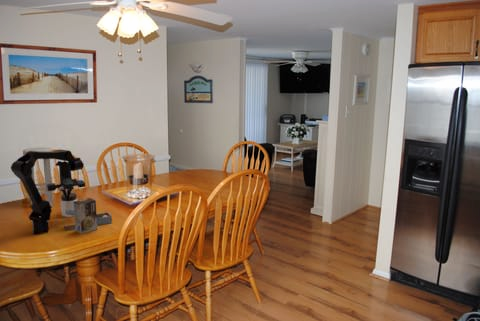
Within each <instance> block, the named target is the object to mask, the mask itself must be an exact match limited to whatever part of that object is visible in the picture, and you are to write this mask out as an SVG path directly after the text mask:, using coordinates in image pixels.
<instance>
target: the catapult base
mask: <svg viewBox="0 0 480 321" xmlns="http://www.w3.org/2000/svg"><path fill="white" fill-rule="evenodd" d="M63 227H64V229H65V230H66V231H73V230H76V228H75V223H74V224H69V225H64V226H63Z"/></svg>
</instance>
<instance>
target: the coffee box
mask: <svg viewBox="0 0 480 321" xmlns="http://www.w3.org/2000/svg"><path fill="white" fill-rule="evenodd" d="M77 200H78V199H77ZM96 203H97V201H96V199H93V198H91V197H88V198H82V199H79V200H78V201H74V214H75V216H74V224H75V228H76V229H75V232H77V233H79V234H81V235H83V234H86V233H90V232H93V231H96V230H98V226H97V215H96V214H97V204H96Z"/></svg>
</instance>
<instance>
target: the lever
mask: <svg viewBox="0 0 480 321" xmlns="http://www.w3.org/2000/svg"><path fill="white" fill-rule="evenodd" d="M65 213H66V214H67V215H72V217H75V214H74V210H68V209H66V211H65Z"/></svg>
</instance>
